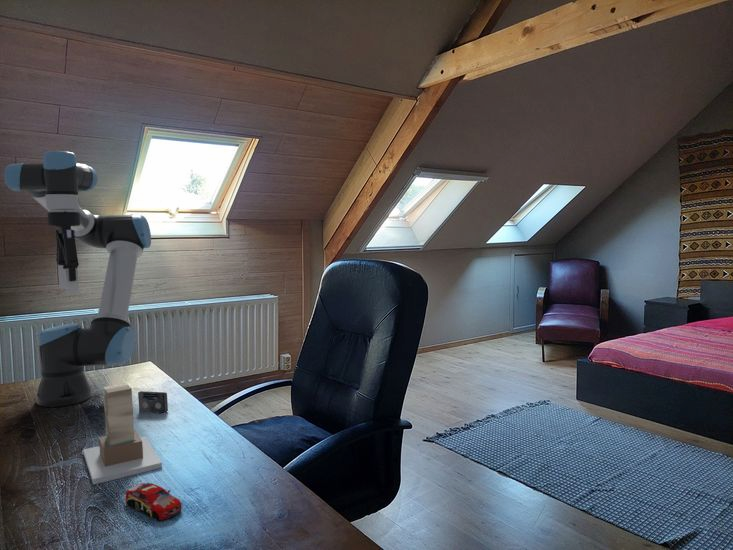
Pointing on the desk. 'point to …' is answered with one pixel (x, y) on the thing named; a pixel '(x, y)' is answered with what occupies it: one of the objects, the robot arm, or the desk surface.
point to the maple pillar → (118, 413)
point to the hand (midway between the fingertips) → (69, 291)
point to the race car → (153, 501)
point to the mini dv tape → (153, 402)
